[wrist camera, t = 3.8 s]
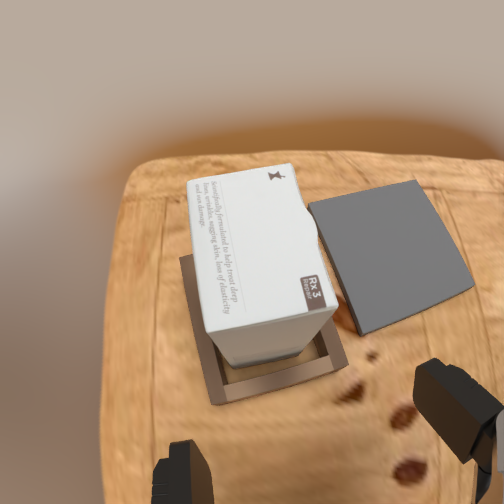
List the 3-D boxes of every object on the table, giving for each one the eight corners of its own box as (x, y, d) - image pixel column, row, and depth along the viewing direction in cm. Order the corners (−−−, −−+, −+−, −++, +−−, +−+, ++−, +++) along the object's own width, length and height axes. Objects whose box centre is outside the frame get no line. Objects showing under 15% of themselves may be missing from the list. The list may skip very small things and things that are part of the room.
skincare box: (217, 285, 29) (177, 174, 16) (282, 272, 29) (291, 153, 16) (234, 375, 25) (194, 334, 12) (305, 360, 25) (345, 302, 12)
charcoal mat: (413, 184, 34) (415, 179, 33) (470, 288, 27) (475, 284, 26) (307, 209, 32) (308, 203, 31) (359, 336, 26) (363, 333, 25)
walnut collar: (294, 246, 30) (296, 226, 27) (339, 370, 25) (348, 364, 21) (188, 274, 29) (179, 257, 26) (218, 405, 24) (211, 404, 21)
